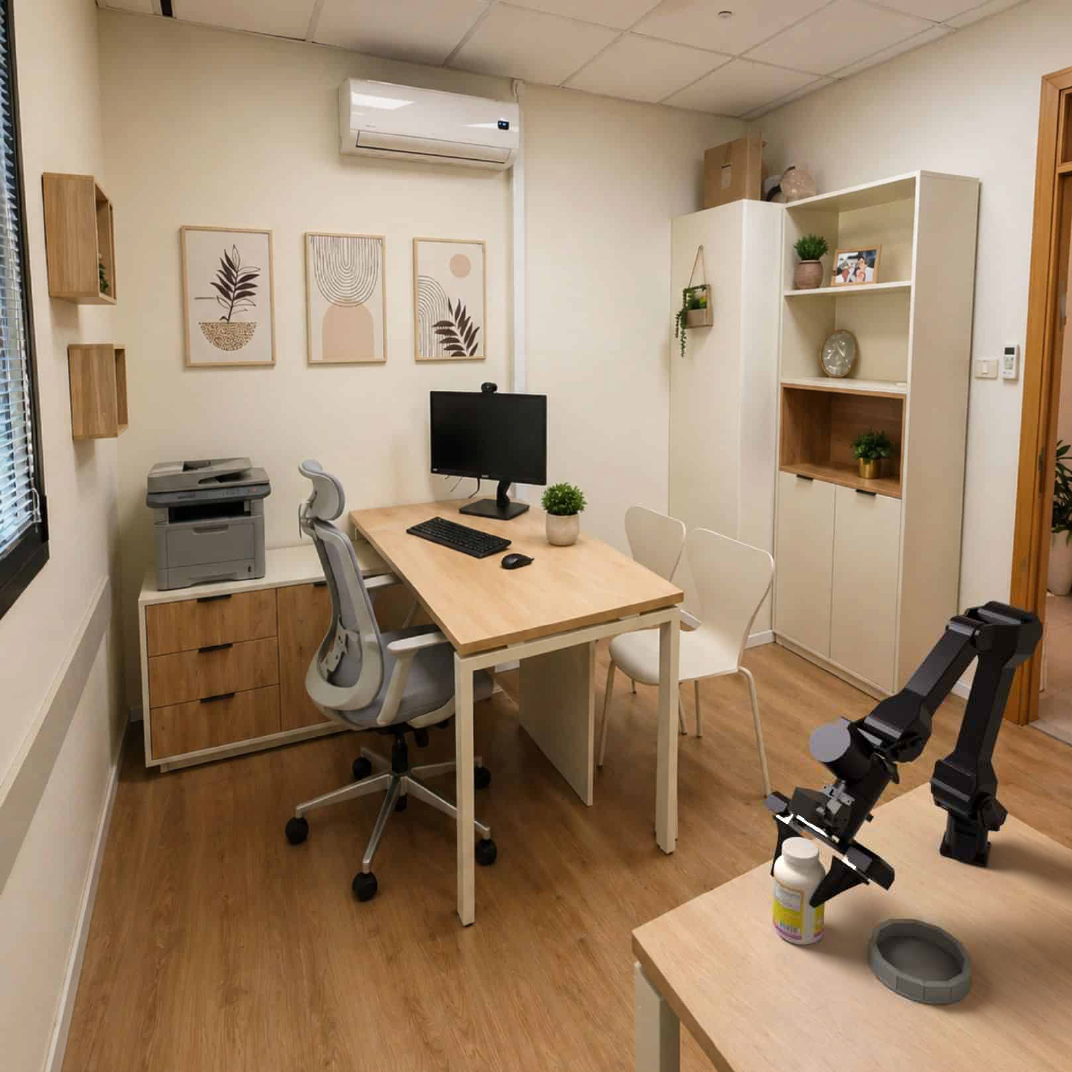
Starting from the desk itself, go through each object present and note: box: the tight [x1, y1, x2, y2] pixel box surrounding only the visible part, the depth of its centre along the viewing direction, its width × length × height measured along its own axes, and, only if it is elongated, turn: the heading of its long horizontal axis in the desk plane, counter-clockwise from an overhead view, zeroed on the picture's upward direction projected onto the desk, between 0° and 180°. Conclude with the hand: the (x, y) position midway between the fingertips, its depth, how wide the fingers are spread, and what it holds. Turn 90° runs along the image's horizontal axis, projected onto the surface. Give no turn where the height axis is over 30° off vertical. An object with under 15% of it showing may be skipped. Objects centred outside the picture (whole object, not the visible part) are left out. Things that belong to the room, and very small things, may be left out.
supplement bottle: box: [772, 837, 827, 945], centre depth 111 cm, size 7×7×13 cm
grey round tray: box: [866, 918, 973, 1006], centre depth 104 cm, size 12×12×2 cm
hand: (791, 891), depth 110 cm, fingers closed on supplement bottle, 7 cm apart
